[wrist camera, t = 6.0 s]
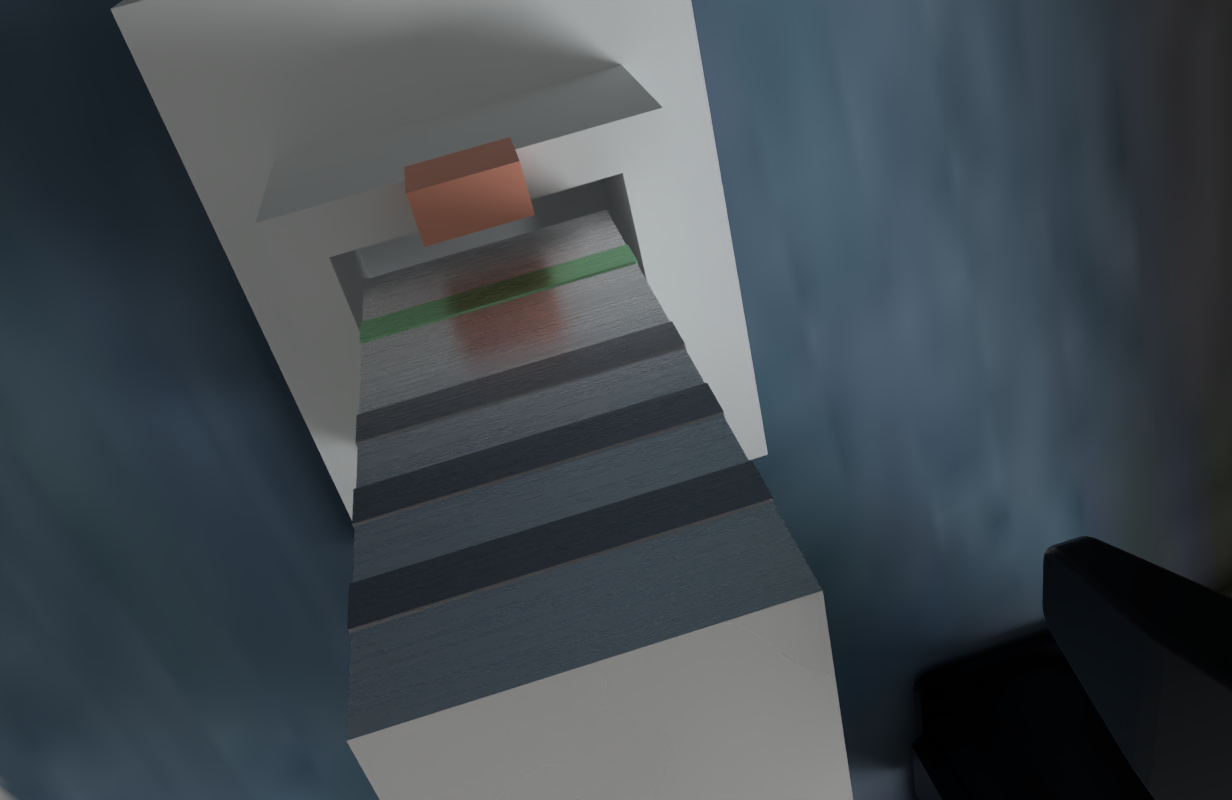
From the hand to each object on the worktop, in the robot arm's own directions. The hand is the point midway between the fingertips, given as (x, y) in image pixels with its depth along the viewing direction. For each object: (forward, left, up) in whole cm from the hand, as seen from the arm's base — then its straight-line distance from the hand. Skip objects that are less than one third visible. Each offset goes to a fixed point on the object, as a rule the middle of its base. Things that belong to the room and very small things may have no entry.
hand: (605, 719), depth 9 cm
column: (0, 0, -8) cm, 8 cm away
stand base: (0, 0, -12) cm, 12 cm away
